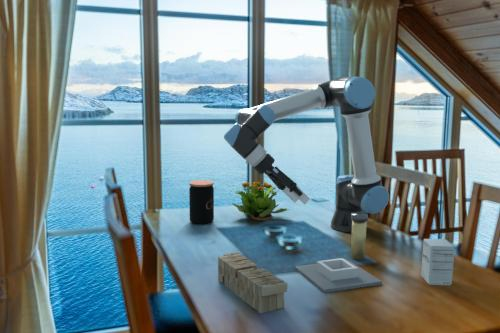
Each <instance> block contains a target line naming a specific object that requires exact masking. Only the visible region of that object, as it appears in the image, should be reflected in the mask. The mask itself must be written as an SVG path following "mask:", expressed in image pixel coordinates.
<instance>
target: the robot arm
mask: <svg viewBox="0 0 500 333" xmlns="http://www.w3.org/2000/svg"><path fill="white" fill-rule="evenodd" d="M375 99H376V89H375V86H374V84H373V83H372V82H371V81H370V80H369V79H367V78H365V77H362V76H361V77H360V76H356V75H355V76H339V77H336V78H333V79H330V80H328V81H325V82H322V83H319V84H317V85H314V86H313V88H312V89H309V90H306V91H301V92H298V93H295V94H292V95H289V96H286V97H285V96H284V97H282V98H279V99H275V100H273V101H268V102H266V103H262V104H260V105H256V106H252V107H249V108H242V109H239V110H238V111H237V112H236V114H235V117H234V118H235V120H234V121H235V123H234V124H233V125H232V126H231V128H230V129H229V130H228V131H227V132H226V133H225V134H224V136H223V139H224V140H225V141H226V142H227V144H228V145H229V146H230V147H231V148H232V149H233V150H234V151H235V152H237V154H239V155H240V157H241V158H243V159H244V160H245V163H246V164H249V165H250V166H251V167H253V169H254V170H255V171H256V172H257V173H258V174H259V175H263V174H265V175H266V176H267V177H268V178H269V179H270V180H271V181H272V183H273V184H274V185H275V187H276V188H277V190H281V191H282V193H284V194H285V195H286V197H288V198H289V199H290V200H291V201H292V203H295V204H296V203H297V201H298V200H299V201H300V202H301V203H302V204H303V205H306V204H307V203H308V202H309V201H310V199H311V198H310V197H309V196H308V195H307V194H306V193H305V192H304V191H303V190H302V189H301V188H300V187H298V184H297V183H296V181H294V180H293V179H291V177H289V176H288V175H286V174H285V173H284V172H283V171H282V170H280V169H279V167H278V166H273V164H275V161H276V160H275V158H274V157H273V156H272V155H271V154H270V153H267V150H266V149H265V148H264V147H263V146H262V145H261V144H260V143H259V142H257V140H258V139H259V138H260V137H261V136H262V135H263V134H264V133H265V132H266V131H267V130H268V129H269V127H271V126H272V125H273V123H274V122H275V121H278V120H282V119H285V118H288V117H291V116H295V115H298V114H301V113H304V112H308V111H311V110H315V109H317V108H318V109H320V110H323V109H325V108H331V107H338V108H339V110H340V115H341V116H342V117H343V118H345V123H346V130H347V135H348V136H347V137H348V142H349V150H350V156H351V162H352V168H353V174H343V175H338V177H337V178H336V183H335V184H336V185H335V186H336V189H335V190H336V191H335V192H336V193H335V210H334V213H333V215H332V219H331V221H330V227H331V229H332V230H335V231H337V232H342V233H343V232H345V233H352V220H351V213H353V212H364V213H367V214H371V215H374V214H375V215H376V214H379V213H381V212H382V211H384V210H385V208H386V207H387V205H388V204H389V200H390V194H389V190H388V189H387V188H386V187H385V186H383V184H382V177H381V176H380V175H379V174H378V173H377V167H376V161H375V154H374V149H373V148H374V147H373V146H374V145H373V139H372V134H371V125H370V119H369V114H370V112H371V111H372V104H373V103H374V100H375ZM366 229H368V228H367V225H366Z"/></svg>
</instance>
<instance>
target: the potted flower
mask: <svg viewBox="0 0 500 333" xmlns="http://www.w3.org/2000/svg"><path fill="white" fill-rule="evenodd" d="M241 186H242V187H243V188H242V190H243V191H242V190H239V189H238V190H237V191H235V194H236V195H240V197H241V198H240V200H241V204H240V205H239V204H236V203H233V202H231V204H232V205H233V206H234V207H236V208H237V210H238V212H240V213H243V214H246V215H248V216H250V218H251V219H252V220H255V221H268V220H270V219H272V217H273V214H279V213H283V212H287V211H289V210H291V209H290V208H289V209H288V208H286V207H281V208H279V209H276V208H277V207H278V206H279V205H280V203H279V204H277V202H276V199H275V198H273V197H274V196H276V197H277V194H278V192H279V190H280V189H277V191H274V190H276V188H277V186H273V185H272V184H271V183H268V182H266V181H264V182H263V183H262V182H260V181H254V182H252V184H250V183H249V182H248V181H246V182H244V183H241ZM244 191H245V192H244ZM247 191H248V192H247ZM270 194H271V195H270ZM275 209H276V210H275Z"/></svg>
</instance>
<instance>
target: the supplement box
mask: <svg viewBox="0 0 500 333" xmlns="http://www.w3.org/2000/svg"><path fill="white" fill-rule="evenodd" d="M422 244H423V245H422V256H421V260H422V261H421V269H420V270H421V271H420V272H421V273H420V274H421V275H420V276H421V277H422V278H423V279H424V281H425V282H426V283H427V285H430V286H451V285H450V284H453V283H452V282H453V272H454V263H455V262H454V261H455V251H456V250H455V248H456V246H454V245H453V244H452V243H451V242H450V241H449V240H447V239H445V238H423V242H422Z"/></svg>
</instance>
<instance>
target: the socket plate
mask: <svg viewBox="0 0 500 333" xmlns="http://www.w3.org/2000/svg"><path fill="white" fill-rule="evenodd" d="M294 270H295V271H296V272H297V273H299V274H300V275H301V276H302V277H304V278H305V279H306V280H307V281H309V282H310V283H311V284H312V285H313V286H314V287H316V288H317V289H318V290H320V292H322V293H323V294H327V293H333V292H339V291H348V290H353V289H360V287H361V288H366V287H367V286H368V287H373V286H380V285H382V284H383V280H381V279H379V278H378V277H376V276H374V275H372V274H371V273H369V271H366V269H363V268H361V267H360V266H358V265H357V264H355V263H353V262H352V261H351V260H348V259H344V258H343V257H341V258H332V259H325V260H318V261H316V263H311V264H303V265H295V266H294Z"/></svg>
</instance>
